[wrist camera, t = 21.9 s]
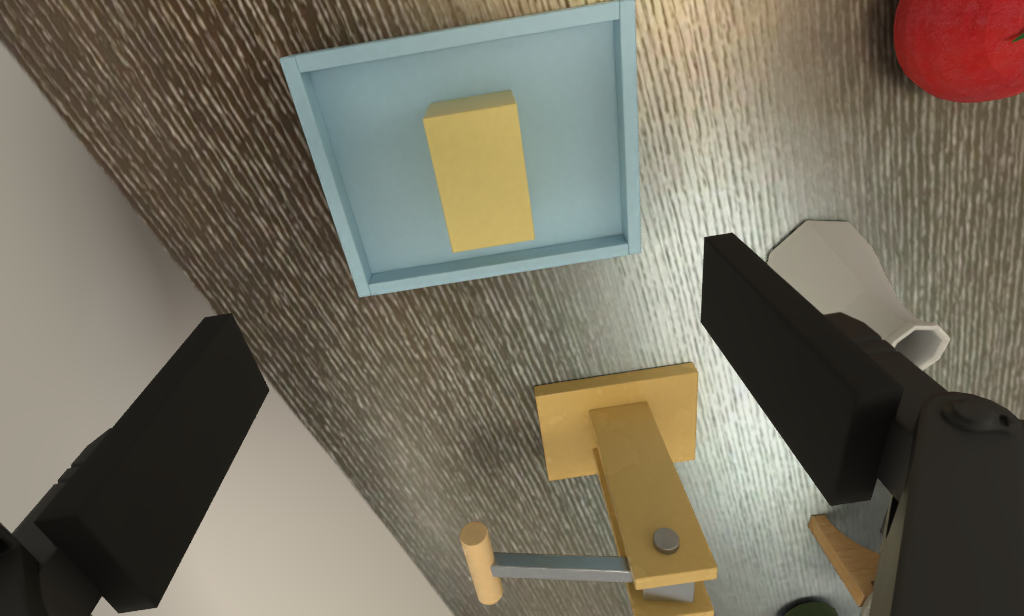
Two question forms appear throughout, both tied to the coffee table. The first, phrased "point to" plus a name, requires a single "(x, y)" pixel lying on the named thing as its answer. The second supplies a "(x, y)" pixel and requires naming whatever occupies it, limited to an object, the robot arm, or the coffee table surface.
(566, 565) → the arm
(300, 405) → the coffee table surface
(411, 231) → the butter dish
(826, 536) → the planter
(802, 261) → the flask
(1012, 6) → the tomato
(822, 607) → the character mug
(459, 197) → the butter
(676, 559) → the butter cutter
